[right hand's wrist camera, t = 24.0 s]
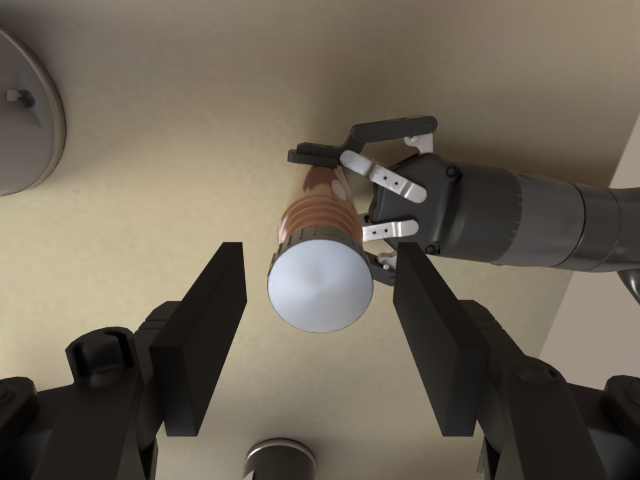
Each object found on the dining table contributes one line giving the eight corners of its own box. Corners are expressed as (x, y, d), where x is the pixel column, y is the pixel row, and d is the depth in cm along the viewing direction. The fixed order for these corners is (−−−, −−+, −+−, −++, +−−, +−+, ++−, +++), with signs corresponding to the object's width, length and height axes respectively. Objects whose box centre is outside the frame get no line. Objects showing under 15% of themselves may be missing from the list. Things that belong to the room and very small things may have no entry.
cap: (253, 285, 15) (247, 304, 13) (302, 205, 14) (300, 217, 12) (336, 328, 16) (337, 350, 14) (389, 255, 14) (396, 272, 13)
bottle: (297, 201, 34) (267, 330, 15) (295, 154, 33) (257, 227, 13) (344, 200, 34) (376, 327, 15) (343, 153, 33) (380, 224, 13)
